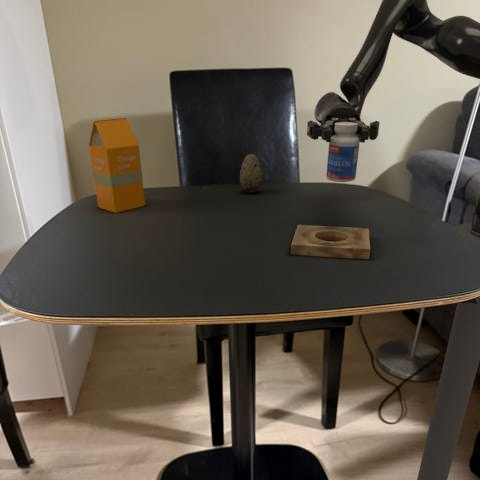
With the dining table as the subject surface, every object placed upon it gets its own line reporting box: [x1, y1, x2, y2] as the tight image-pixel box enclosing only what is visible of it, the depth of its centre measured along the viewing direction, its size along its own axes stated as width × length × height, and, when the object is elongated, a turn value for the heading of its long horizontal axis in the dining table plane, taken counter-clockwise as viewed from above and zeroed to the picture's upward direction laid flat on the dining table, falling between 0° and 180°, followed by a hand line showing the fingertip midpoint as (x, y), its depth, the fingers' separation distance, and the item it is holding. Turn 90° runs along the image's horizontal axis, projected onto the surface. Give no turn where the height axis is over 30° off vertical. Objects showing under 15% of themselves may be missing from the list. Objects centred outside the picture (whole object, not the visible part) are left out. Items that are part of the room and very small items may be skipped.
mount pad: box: [290, 224, 371, 260], centre depth 91 cm, size 14×12×2 cm
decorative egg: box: [239, 153, 263, 194], centre depth 127 cm, size 6×6×10 cm
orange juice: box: [88, 117, 146, 214], centre depth 114 cm, size 8×9×20 cm
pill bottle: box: [325, 122, 361, 183], centre depth 87 cm, size 6×5×10 cm
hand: (345, 136), depth 84 cm, fingers closed on pill bottle, 5 cm apart
